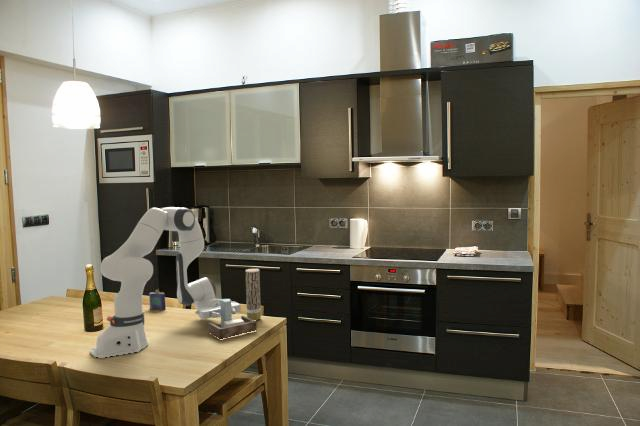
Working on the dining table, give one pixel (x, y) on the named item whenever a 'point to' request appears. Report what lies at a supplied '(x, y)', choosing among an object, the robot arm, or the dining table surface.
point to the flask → (157, 301)
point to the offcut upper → (233, 322)
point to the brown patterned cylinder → (253, 294)
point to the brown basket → (233, 328)
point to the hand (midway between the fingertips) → (226, 314)
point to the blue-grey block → (225, 311)
